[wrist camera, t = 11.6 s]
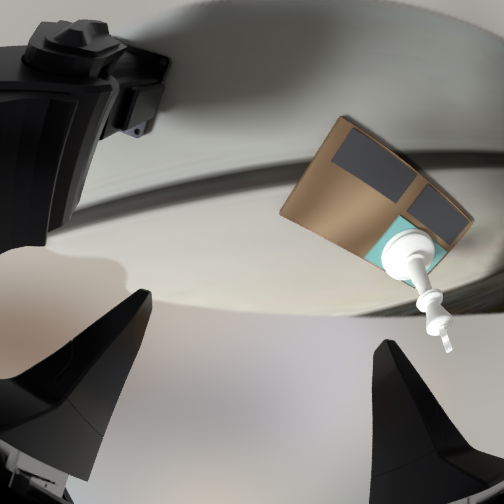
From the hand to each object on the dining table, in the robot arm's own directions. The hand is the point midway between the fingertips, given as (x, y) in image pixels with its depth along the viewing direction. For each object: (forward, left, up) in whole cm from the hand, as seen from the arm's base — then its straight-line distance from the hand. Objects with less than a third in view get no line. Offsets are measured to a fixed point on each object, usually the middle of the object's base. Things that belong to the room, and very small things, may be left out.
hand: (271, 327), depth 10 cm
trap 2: (+5, +5, -12) cm, 14 cm away
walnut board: (+8, +2, -13) cm, 16 cm away
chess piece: (+12, +1, -12) cm, 17 cm away
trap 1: (+12, +5, -12) cm, 18 cm away
